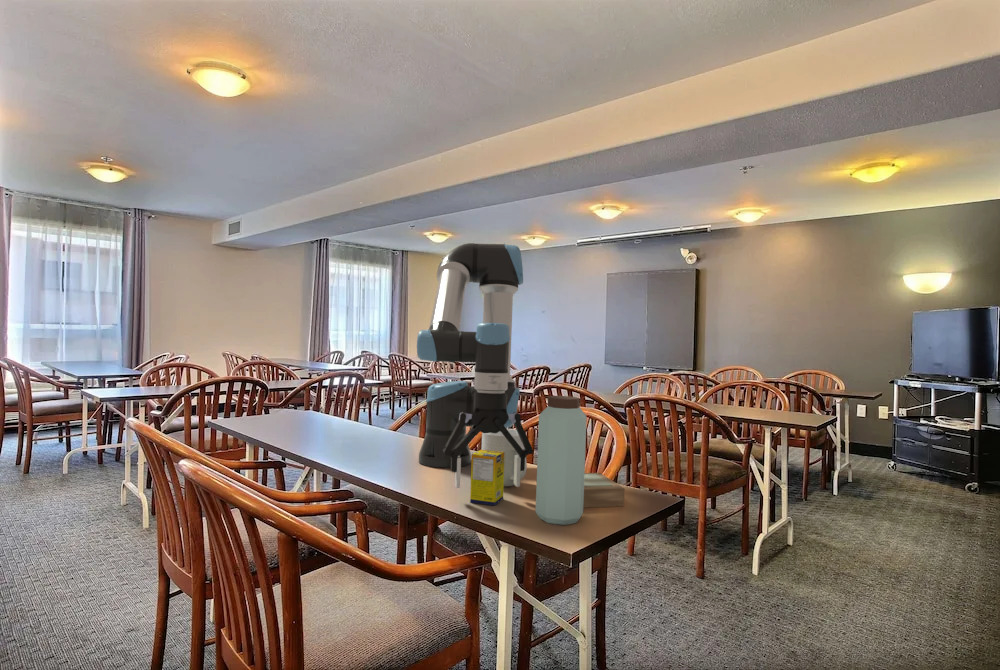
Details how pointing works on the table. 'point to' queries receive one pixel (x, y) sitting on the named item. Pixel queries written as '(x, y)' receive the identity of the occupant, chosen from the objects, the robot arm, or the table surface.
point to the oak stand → (601, 491)
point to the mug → (501, 444)
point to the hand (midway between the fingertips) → (487, 485)
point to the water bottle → (561, 461)
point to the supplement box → (487, 477)
